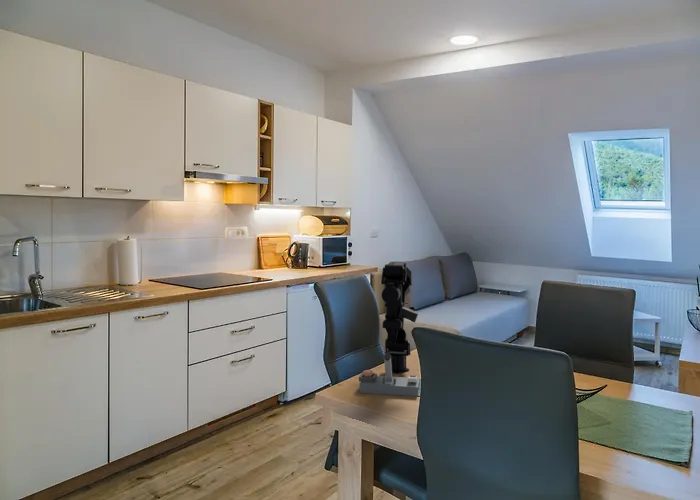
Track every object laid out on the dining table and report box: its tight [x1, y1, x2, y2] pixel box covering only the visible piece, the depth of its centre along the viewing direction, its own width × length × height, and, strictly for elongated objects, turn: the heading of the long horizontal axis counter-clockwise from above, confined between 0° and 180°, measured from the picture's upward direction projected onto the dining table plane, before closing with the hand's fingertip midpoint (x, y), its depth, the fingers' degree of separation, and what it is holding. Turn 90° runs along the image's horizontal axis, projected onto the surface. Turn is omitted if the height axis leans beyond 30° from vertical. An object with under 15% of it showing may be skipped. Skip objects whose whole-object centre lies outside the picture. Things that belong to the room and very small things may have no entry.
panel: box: [358, 372, 421, 397], centre depth 171 cm, size 9×20×5 cm, turn 78°
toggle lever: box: [383, 352, 393, 382], centre depth 166 cm, size 2×2×12 cm
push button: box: [362, 369, 374, 377], centre depth 172 cm, size 3×3×2 cm
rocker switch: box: [407, 374, 418, 382], centre depth 169 cm, size 4×3×2 cm, turn 168°
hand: (393, 344), depth 179 cm, fingers closed
